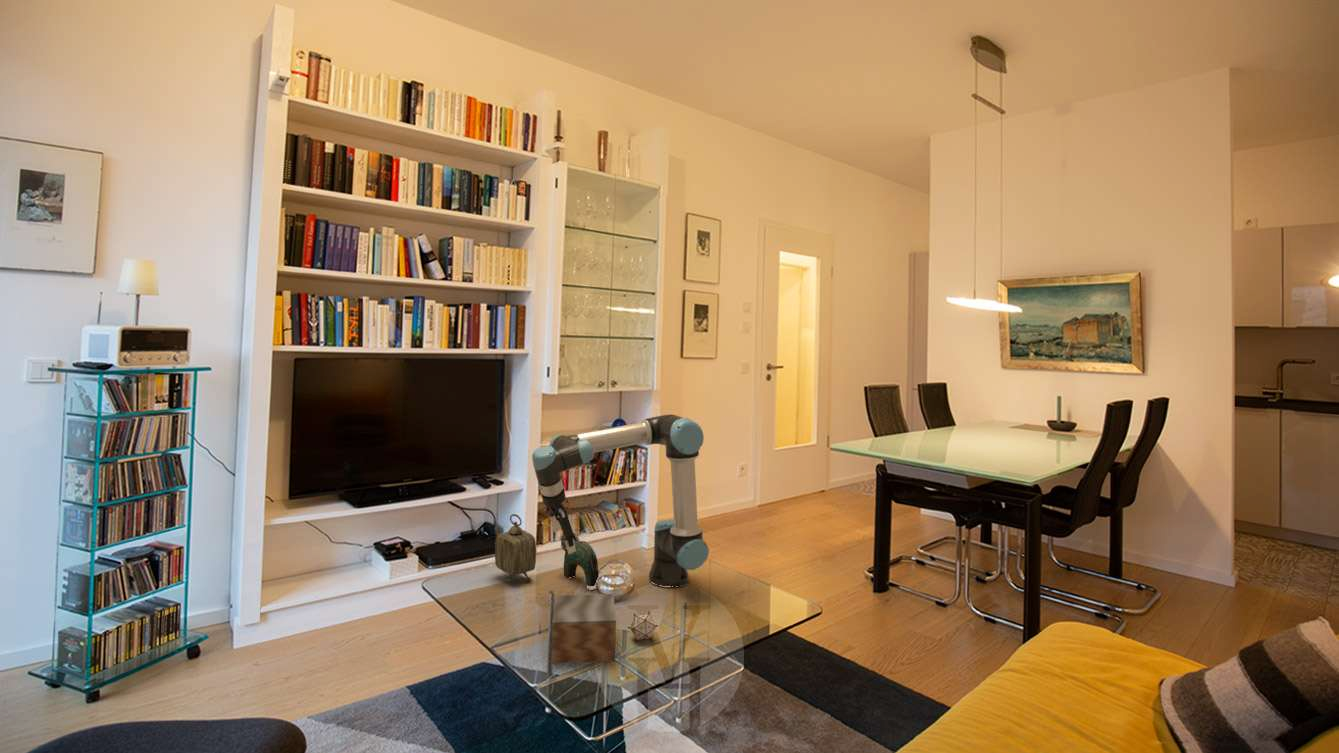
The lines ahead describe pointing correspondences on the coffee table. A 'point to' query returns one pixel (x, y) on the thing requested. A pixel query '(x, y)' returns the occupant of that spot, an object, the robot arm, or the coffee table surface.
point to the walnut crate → (583, 628)
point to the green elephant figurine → (581, 560)
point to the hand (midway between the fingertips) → (564, 541)
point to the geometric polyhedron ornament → (642, 626)
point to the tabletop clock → (515, 551)
